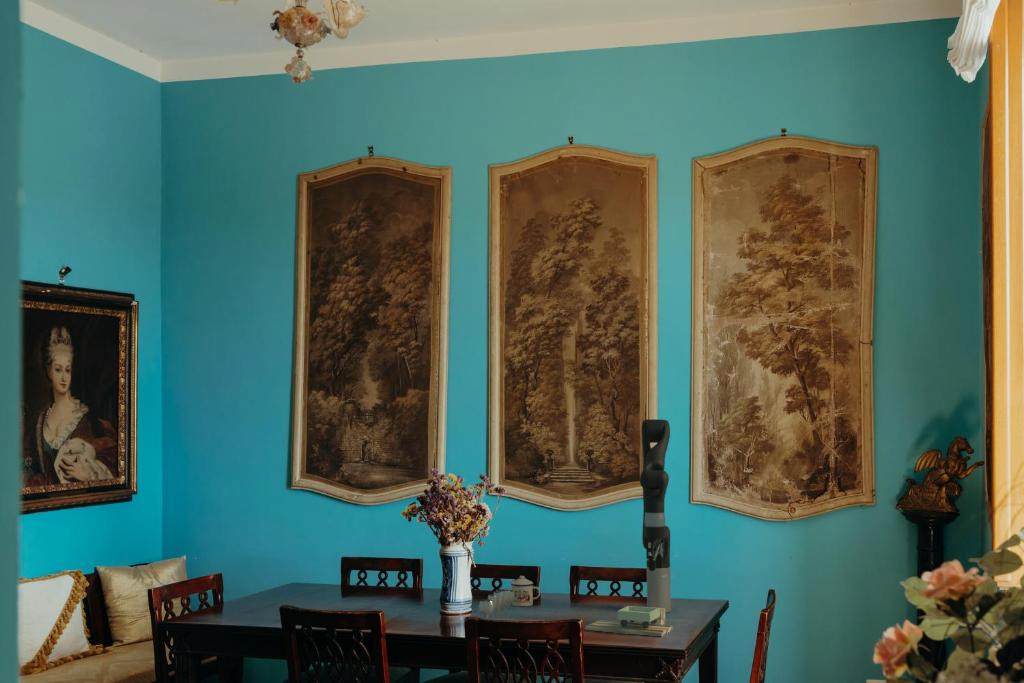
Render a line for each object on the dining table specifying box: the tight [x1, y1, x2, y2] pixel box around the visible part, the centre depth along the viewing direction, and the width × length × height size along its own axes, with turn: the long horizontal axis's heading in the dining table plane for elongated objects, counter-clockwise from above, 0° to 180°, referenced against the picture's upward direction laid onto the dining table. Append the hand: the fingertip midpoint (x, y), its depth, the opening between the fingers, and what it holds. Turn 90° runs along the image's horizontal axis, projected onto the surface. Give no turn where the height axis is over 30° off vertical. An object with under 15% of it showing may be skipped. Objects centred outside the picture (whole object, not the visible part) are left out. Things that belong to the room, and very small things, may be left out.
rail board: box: [585, 619, 674, 637], centre depth 381 cm, size 14×28×2 cm, turn 64°
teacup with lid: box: [510, 575, 541, 607], centre depth 435 cm, size 12×9×12 cm
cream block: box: [649, 607, 666, 625], centre depth 391 cm, size 5×5×6 cm
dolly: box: [617, 605, 660, 628], centre depth 380 cm, size 11×12×6 cm
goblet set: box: [478, 588, 515, 620], centre depth 385 cm, size 28×6×13 cm, turn 161°
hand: (655, 569), depth 392 cm, fingers open, 8 cm apart
